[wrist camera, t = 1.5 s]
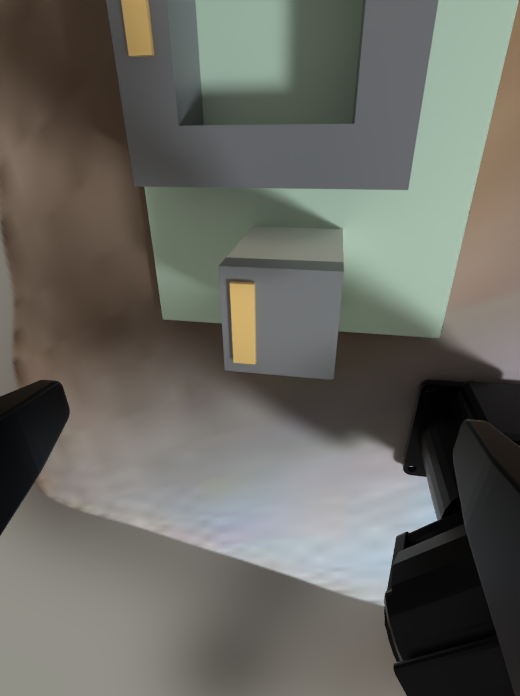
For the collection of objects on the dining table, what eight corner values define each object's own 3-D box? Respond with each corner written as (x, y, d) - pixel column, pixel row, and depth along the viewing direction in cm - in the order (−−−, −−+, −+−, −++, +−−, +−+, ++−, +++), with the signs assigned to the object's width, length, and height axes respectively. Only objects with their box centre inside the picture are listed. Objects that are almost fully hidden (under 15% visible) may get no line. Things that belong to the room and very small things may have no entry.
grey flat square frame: (397, 180, 16) (409, 191, 13) (164, 177, 18) (131, 187, 15) (452, -199, 11) (488, -304, 9) (125, -156, 13) (66, -233, 10)
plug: (335, 312, 19) (333, 383, 14) (254, 307, 20) (223, 373, 15) (342, 228, 17) (343, 273, 12) (253, 226, 18) (216, 267, 13)
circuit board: (436, 330, 20) (439, 338, 19) (168, 313, 22) (162, 319, 21) (567, -249, 11) (582, -274, 10) (103, -183, 13) (90, -200, 13)
